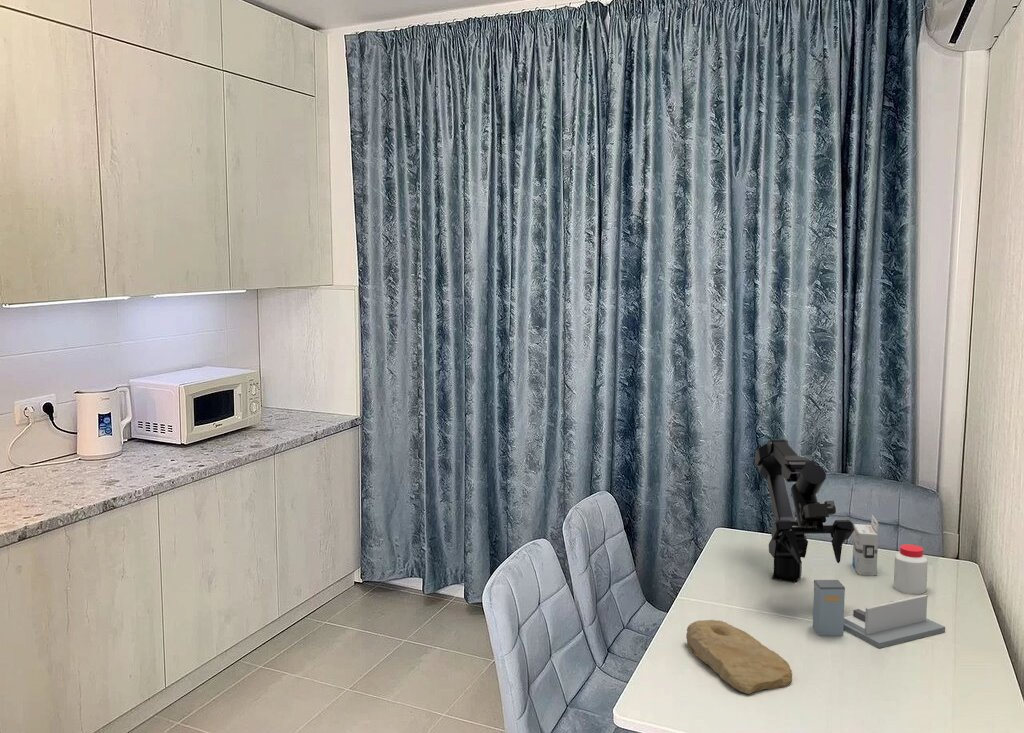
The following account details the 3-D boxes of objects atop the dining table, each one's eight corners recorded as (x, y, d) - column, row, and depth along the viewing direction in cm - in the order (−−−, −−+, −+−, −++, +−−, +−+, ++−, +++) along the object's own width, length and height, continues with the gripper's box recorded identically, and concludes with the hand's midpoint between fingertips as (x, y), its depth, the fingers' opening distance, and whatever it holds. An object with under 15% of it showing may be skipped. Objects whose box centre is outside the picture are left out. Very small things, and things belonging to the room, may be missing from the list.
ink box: (851, 564, 239) (853, 513, 237) (870, 565, 238) (872, 513, 236) (857, 575, 230) (859, 522, 228) (877, 576, 229) (879, 523, 227)
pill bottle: (894, 592, 218) (895, 550, 217) (892, 581, 225) (894, 541, 224) (927, 596, 215) (929, 554, 214) (925, 585, 222) (927, 544, 221)
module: (812, 627, 199) (814, 579, 197) (836, 626, 198) (837, 579, 197) (819, 635, 194) (820, 587, 193) (843, 635, 194) (845, 587, 192)
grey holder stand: (832, 623, 200) (833, 594, 199) (896, 609, 208) (897, 581, 207) (879, 648, 187) (880, 617, 186) (945, 631, 195) (946, 601, 194)
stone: (739, 702, 167) (741, 674, 167) (676, 642, 191) (678, 618, 191) (805, 691, 172) (807, 665, 171) (735, 635, 196) (737, 611, 195)
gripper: (775, 488, 206) (787, 548, 196) (853, 488, 205) (869, 547, 196) (765, 510, 215) (777, 568, 205) (840, 509, 214) (855, 567, 205)
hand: (819, 562), depth 203 cm, fingers open, 9 cm apart
